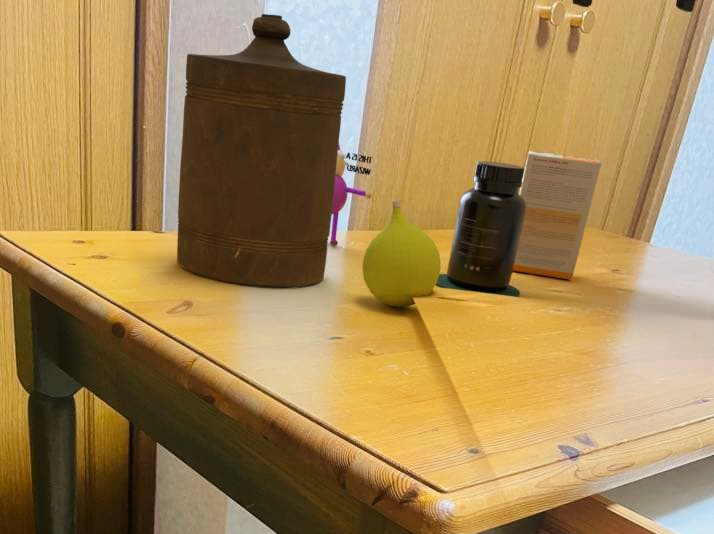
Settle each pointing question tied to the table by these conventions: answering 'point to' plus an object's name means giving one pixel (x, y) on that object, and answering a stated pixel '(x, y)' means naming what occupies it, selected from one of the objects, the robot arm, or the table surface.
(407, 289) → the yellow-green fig
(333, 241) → the wizard figurine
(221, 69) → the wooden container
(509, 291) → the dark green coaster
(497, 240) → the supplement bottle
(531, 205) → the supplement box
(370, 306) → the table surface
